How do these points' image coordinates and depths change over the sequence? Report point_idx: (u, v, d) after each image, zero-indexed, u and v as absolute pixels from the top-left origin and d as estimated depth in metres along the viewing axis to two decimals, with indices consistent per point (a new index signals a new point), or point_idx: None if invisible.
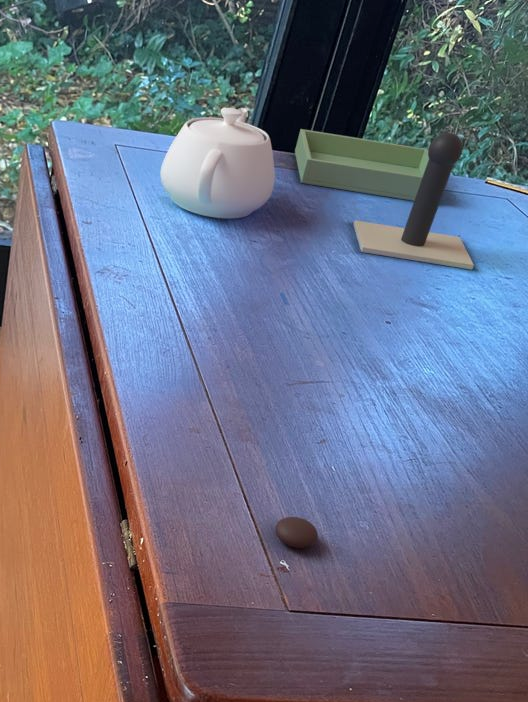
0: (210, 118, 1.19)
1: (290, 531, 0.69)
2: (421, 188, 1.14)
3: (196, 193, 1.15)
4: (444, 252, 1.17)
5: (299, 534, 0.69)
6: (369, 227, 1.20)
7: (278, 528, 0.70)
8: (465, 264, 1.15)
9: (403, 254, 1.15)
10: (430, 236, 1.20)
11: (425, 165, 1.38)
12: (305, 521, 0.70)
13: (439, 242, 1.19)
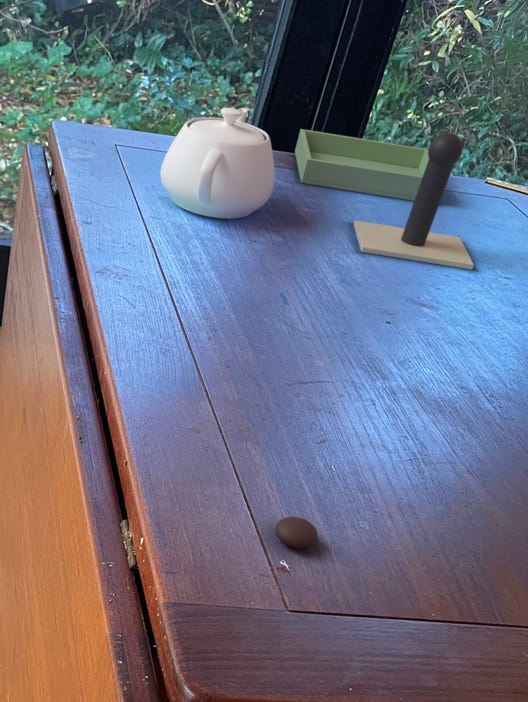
0: (210, 118, 1.19)
1: (290, 531, 0.69)
2: (421, 188, 1.14)
3: (196, 193, 1.15)
4: (444, 252, 1.17)
5: (299, 534, 0.69)
6: (369, 227, 1.20)
7: (278, 528, 0.70)
8: (465, 264, 1.15)
9: (403, 254, 1.15)
10: (430, 236, 1.20)
11: (425, 165, 1.38)
12: (305, 521, 0.70)
13: (439, 242, 1.19)
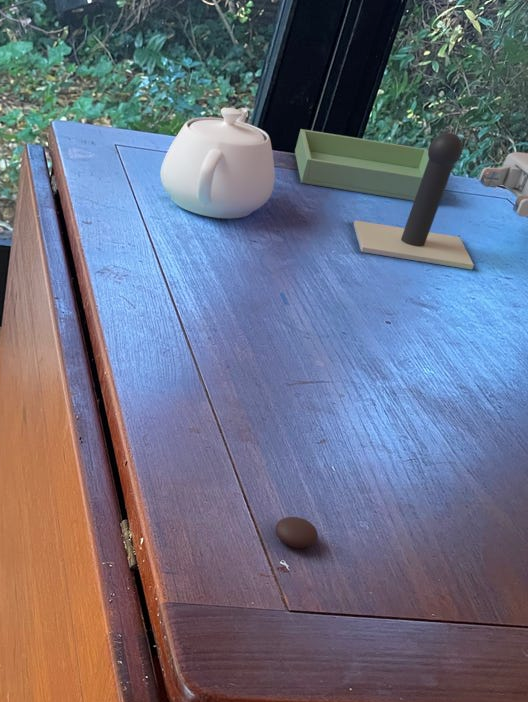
0: (210, 118, 1.19)
1: (290, 531, 0.69)
2: (421, 188, 1.14)
3: (196, 193, 1.15)
4: (444, 252, 1.17)
5: (299, 534, 0.69)
6: (369, 227, 1.20)
7: (278, 528, 0.70)
8: (465, 264, 1.15)
9: (403, 254, 1.15)
10: (430, 236, 1.20)
11: (425, 165, 1.38)
12: (305, 521, 0.70)
13: (439, 242, 1.19)
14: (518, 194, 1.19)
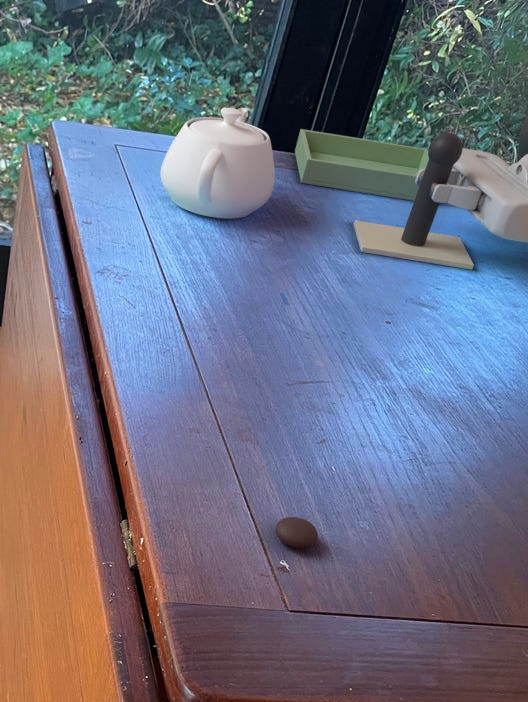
0: (210, 118, 1.19)
1: (290, 531, 0.69)
2: (421, 188, 1.14)
3: (196, 193, 1.15)
4: (444, 252, 1.17)
5: (299, 534, 0.69)
6: (369, 227, 1.20)
7: (278, 528, 0.70)
8: (465, 264, 1.15)
9: (403, 254, 1.15)
10: (430, 236, 1.20)
11: (425, 165, 1.38)
12: (305, 521, 0.70)
13: (439, 241, 1.19)
14: None
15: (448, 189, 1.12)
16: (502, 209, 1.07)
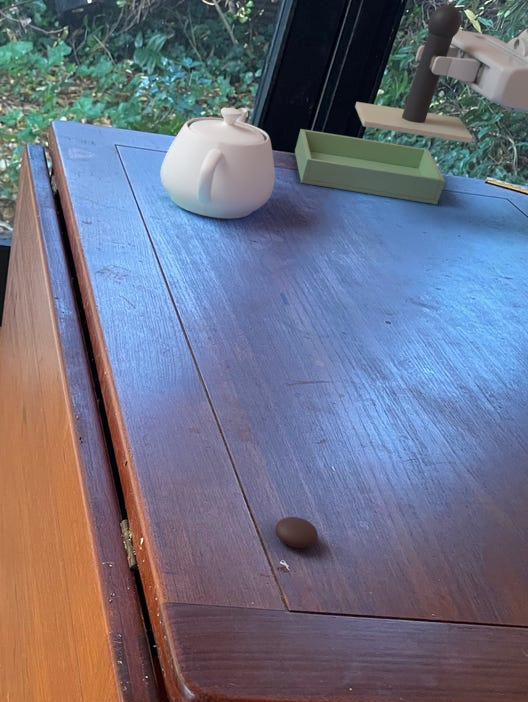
0: (210, 118, 1.19)
1: (290, 531, 0.69)
2: (421, 62, 1.17)
3: (196, 193, 1.15)
4: (444, 128, 1.20)
5: (299, 534, 0.69)
6: (370, 107, 1.23)
7: (278, 528, 0.70)
8: (464, 138, 1.18)
9: (404, 128, 1.18)
10: (430, 116, 1.23)
11: (425, 165, 1.38)
12: (305, 521, 0.70)
13: (439, 120, 1.22)
14: None
15: (448, 61, 1.15)
16: (501, 75, 1.10)
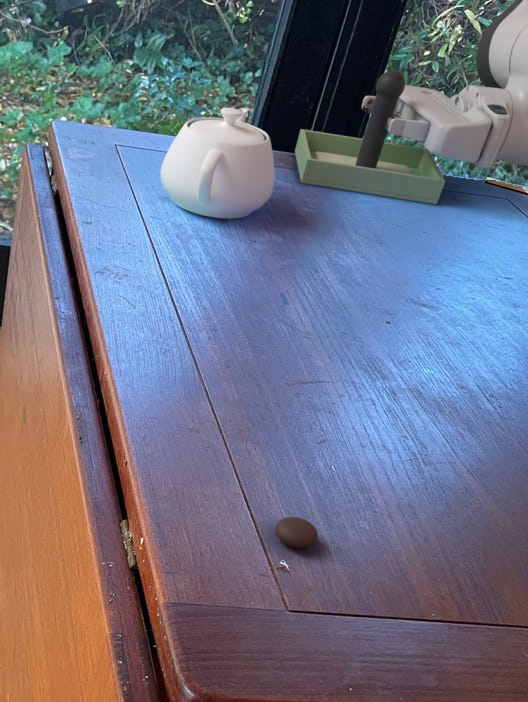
0: (210, 118, 1.19)
1: (290, 531, 0.69)
2: (371, 119, 1.32)
3: (196, 193, 1.15)
4: None
5: (299, 534, 0.69)
6: (328, 156, 1.39)
7: (278, 528, 0.70)
8: None
9: None
10: (381, 164, 1.39)
11: (425, 165, 1.38)
12: (305, 521, 0.70)
13: (388, 168, 1.38)
14: None
15: (402, 123, 1.28)
16: (439, 131, 1.25)
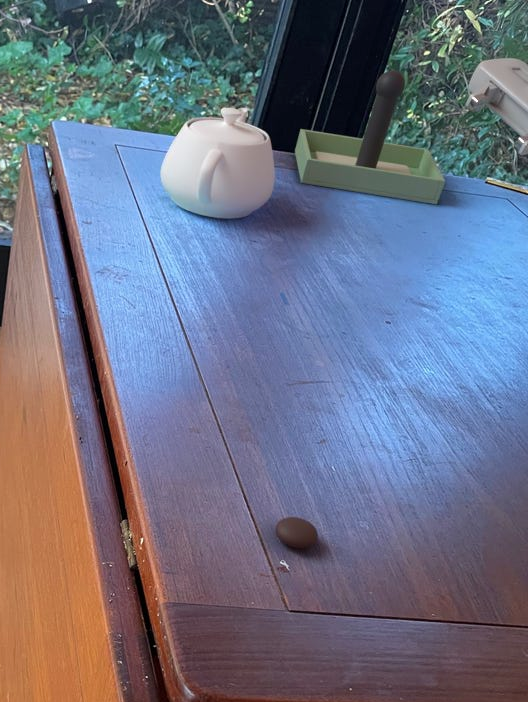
0: (210, 118, 1.19)
1: (290, 531, 0.69)
2: (371, 119, 1.32)
3: (196, 193, 1.15)
4: None
5: (299, 534, 0.69)
6: (328, 156, 1.39)
7: (278, 528, 0.70)
8: None
9: None
10: (381, 164, 1.39)
11: (425, 165, 1.38)
12: (305, 521, 0.70)
13: (388, 168, 1.38)
14: (496, 111, 1.32)
15: None
16: None
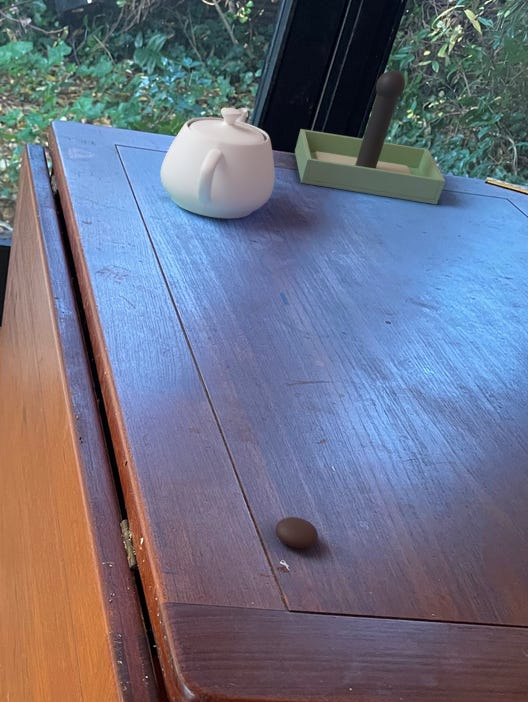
0: (210, 118, 1.19)
1: (290, 531, 0.69)
2: (371, 119, 1.32)
3: (196, 193, 1.15)
4: None
5: (299, 534, 0.69)
6: (328, 156, 1.39)
7: (278, 528, 0.70)
8: None
9: None
10: (381, 164, 1.39)
11: (425, 165, 1.38)
12: (305, 521, 0.70)
13: (388, 168, 1.38)
14: None
15: None
16: None
